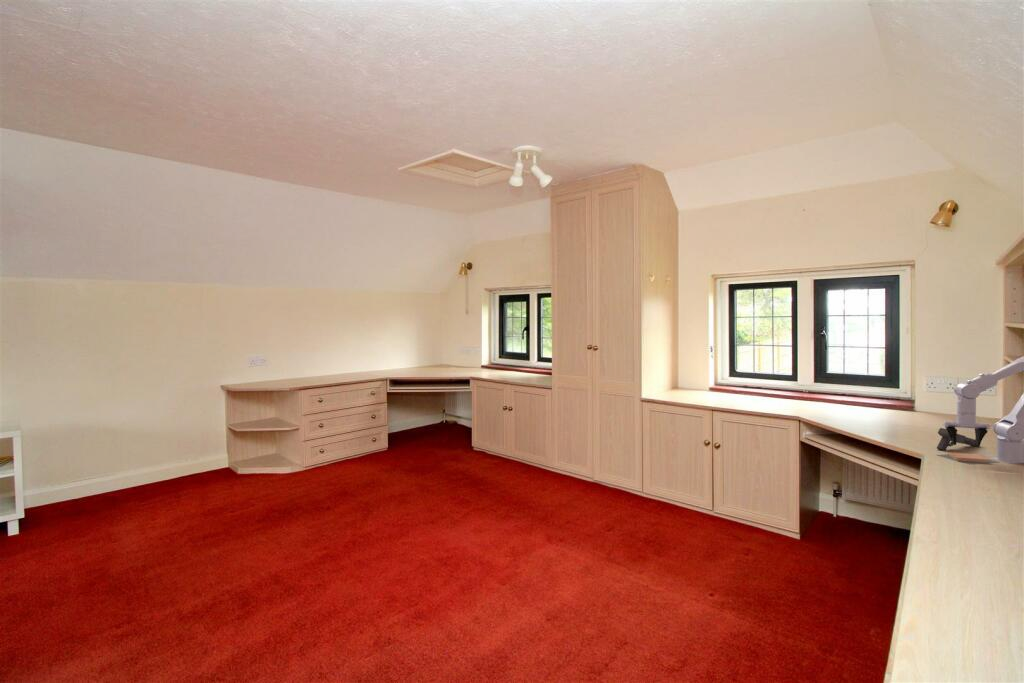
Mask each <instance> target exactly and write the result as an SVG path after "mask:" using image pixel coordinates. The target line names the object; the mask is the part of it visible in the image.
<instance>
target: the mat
mask: <svg viewBox="0 0 1024 683" xmlns="http://www.w3.org/2000/svg"><path fill="white" fill-rule="evenodd" d="M965 454H967V453H965ZM936 456H938V457H941V458H944V459H948V460H951V461H954V462H958V463H962V464H967V465H981V464H986V463H978V462H964V461H956V460H954V459H953V458H951V457H950V456H949V453H947V454H946V453H944V454H936ZM987 459H988V458H987ZM996 463H997V464H998V463H1001V461H1000V462H999V461H997V460H994V459H990V458H989V459H988V463H987V464H996Z"/></svg>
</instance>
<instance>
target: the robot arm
mask: <svg viewBox="0 0 1024 683" xmlns="http://www.w3.org/2000/svg"><path fill="white" fill-rule="evenodd" d="M1019 372H1024V355H1023V356H1021V357H1019V358H1016V359H1015V360H1014V361H1012V362H1010V363H1009V364H1007V365H1005V366H1003V367H1002V368H999V369H998V370H996V371H994V372H992V373H987V372H985V373H979V374H978V376H977V377H975V378H973V379H971V380H970V379H968V380H966V382H965V383H964V382H962V383H958V384H957V386H956V387H955V389H953V390H954V391H953V392H954V394H955V395H956V396H957V403H956V404H957V406H956V409H957V410H956V414H957V415H956V421H943V422H942V426H943V427H944V428H945V429H947V431H948V433H949V435H950V438H951V441H950V442H952V444H953V446H956V445H957V442H956V435H957V434H958V429H957V428H963V429H974V434H975V439H974V440H975V445H976V446H979V447H978V448H980V446H981V444H982V441H983V439H984V437H985V436H986V435H987V433H988V430H990V429H991V424H990V423H983V422H981V423H980V422H976V419H977V418H976V417H977V414H976V413H977V398H978V397H979V396H980V395H981V393H982V392H985V391H987V390H989V389H991V388H993V387H995V386H998V382H999V381H1001V380H1004V379H1005V378H1008V377H1010V376H1012V375H1015V374H1017V373H1019ZM993 432H994V434H995V435H996V457H990V460H994V461H998V462H999V461H1000V462H1003V463H1007V464H1024V392H1023V393H1022V395H1021V396H1020V398H1019V399H1018V400H1017V402H1016V403H1015V405H1014V406H1013V408H1012V410H1011V411H1010V412H1009V414H1007V415H1004V416H1003V417H1002V418H1001V419H1000V420H999V421H997V422H995V423H994V424H993Z"/></svg>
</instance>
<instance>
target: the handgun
mask: <svg viewBox="0 0 1024 683" xmlns="http://www.w3.org/2000/svg"><path fill="white" fill-rule="evenodd" d="M937 434H938V436H941V439H940V440H939V442H938V445H937V446H936V449H937V450H939V451H943V452H944V451H947V449H948V447H953V446H954V445H953V444H952V441H951V438H950V435H949V433H948V431H947V429H946V428H942V427H940V428H939V429H938V431H937ZM956 444H962V445H965V446H967V445H968V446H971V447H977V448H980V447H979V446H976V445H975V439H973V438H971V437H967V436H966V435H962V434H959V433H957V435H956Z"/></svg>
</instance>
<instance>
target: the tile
mask: <svg viewBox="0 0 1024 683" xmlns="http://www.w3.org/2000/svg"><path fill="white" fill-rule="evenodd" d="M948 454H949V456H950V457H951V458H953V459H954V460H953V461H955V460H956V461H955V462H958V461H964V462H978V463H985V464H989V463H988V458H986V457H984V456H983V455H980V454H977V453H966V454H965V453H963V452H962V453H961V452H948Z"/></svg>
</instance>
